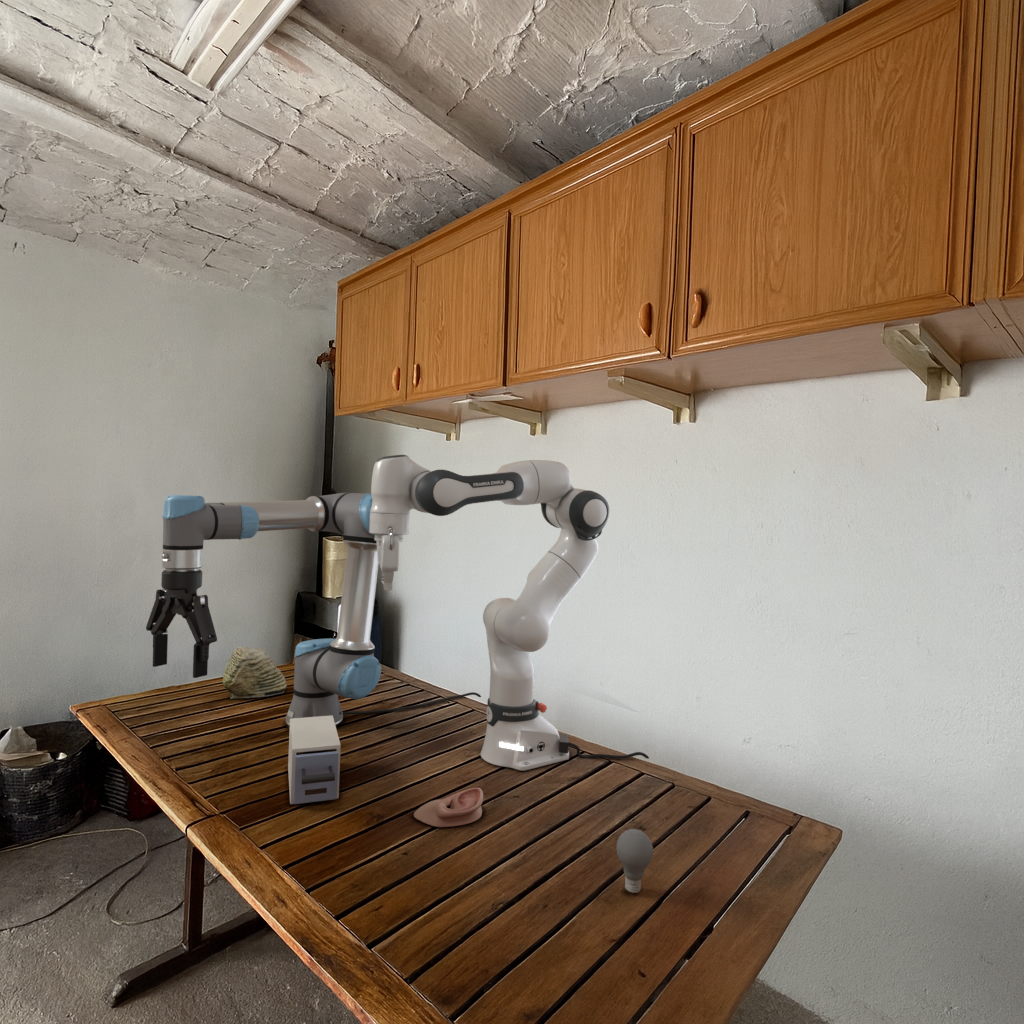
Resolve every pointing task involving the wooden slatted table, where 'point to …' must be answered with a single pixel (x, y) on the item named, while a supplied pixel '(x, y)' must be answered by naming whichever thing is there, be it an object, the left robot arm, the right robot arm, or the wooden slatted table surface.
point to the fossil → (252, 674)
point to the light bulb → (634, 857)
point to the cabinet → (311, 742)
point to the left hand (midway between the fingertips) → (179, 670)
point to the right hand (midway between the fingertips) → (386, 587)
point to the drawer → (315, 776)
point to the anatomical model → (452, 809)
